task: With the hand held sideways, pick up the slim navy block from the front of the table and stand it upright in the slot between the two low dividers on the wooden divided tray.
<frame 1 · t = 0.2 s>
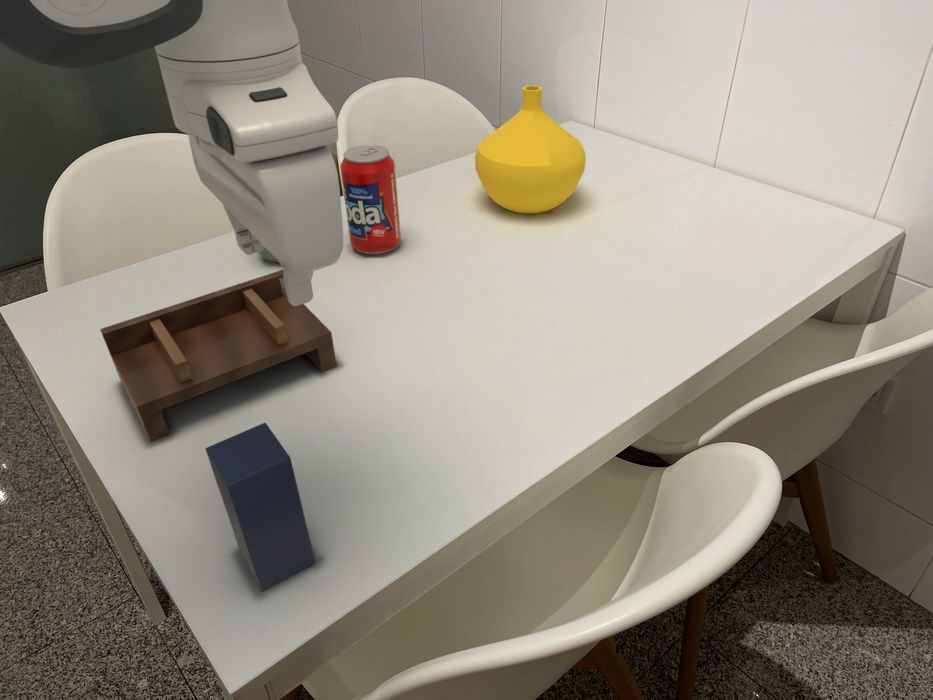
hand: (274, 273, 54), 24 cm above the table, tool pointing down, fingers open, 8 cm apart
vase: (528, 202, 121), on the table
cup: (283, 256, 107), on the table
soda can: (376, 247, 109), on the table
wooden divided tray: (231, 375, 83), on the table
navy block: (277, 557, 62), on the table
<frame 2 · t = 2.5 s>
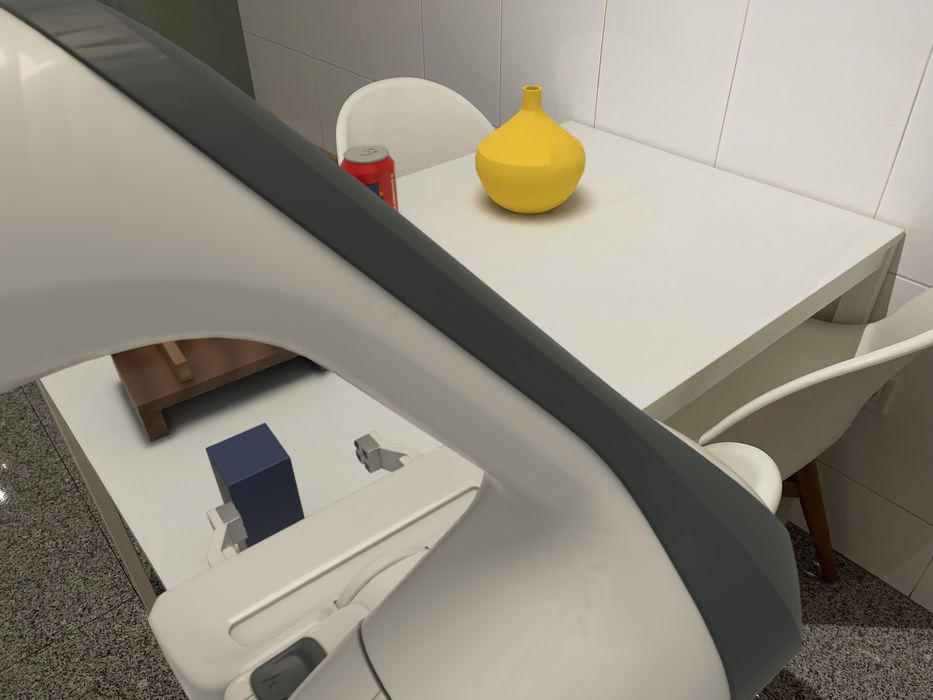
hand: (296, 476, 42), 20 cm above the table, tool horizontal, fingers open, 8 cm apart
nothing on the table moved.
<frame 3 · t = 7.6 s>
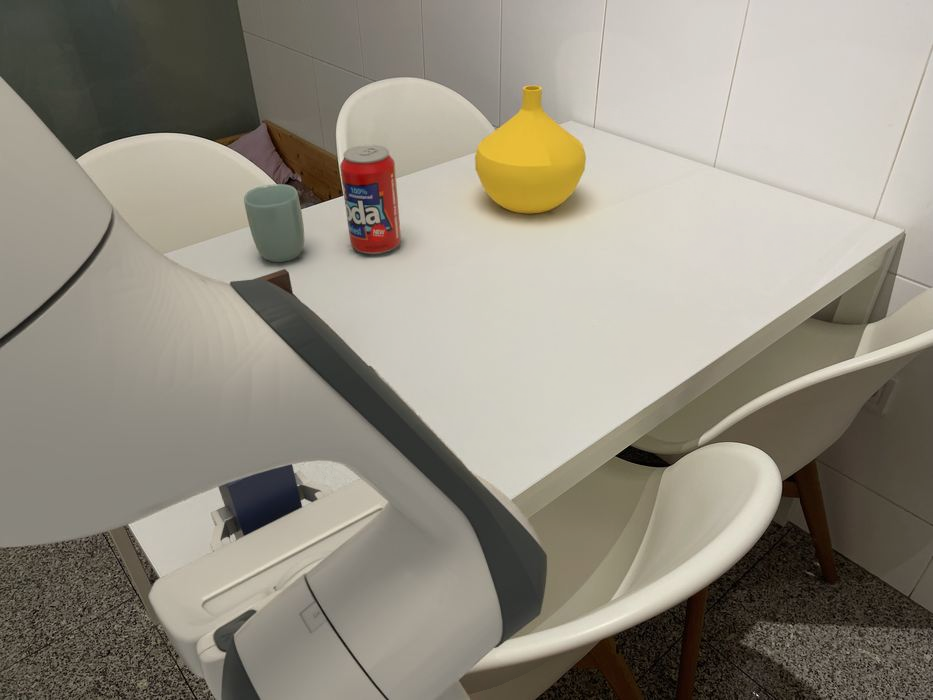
hand: (257, 496, 58), 7 cm above the table, tool horizontal, fingers closed on navy block, 5 cm apart
navy block: (277, 557, 62), on the table, touching gripper
everything else where it was.
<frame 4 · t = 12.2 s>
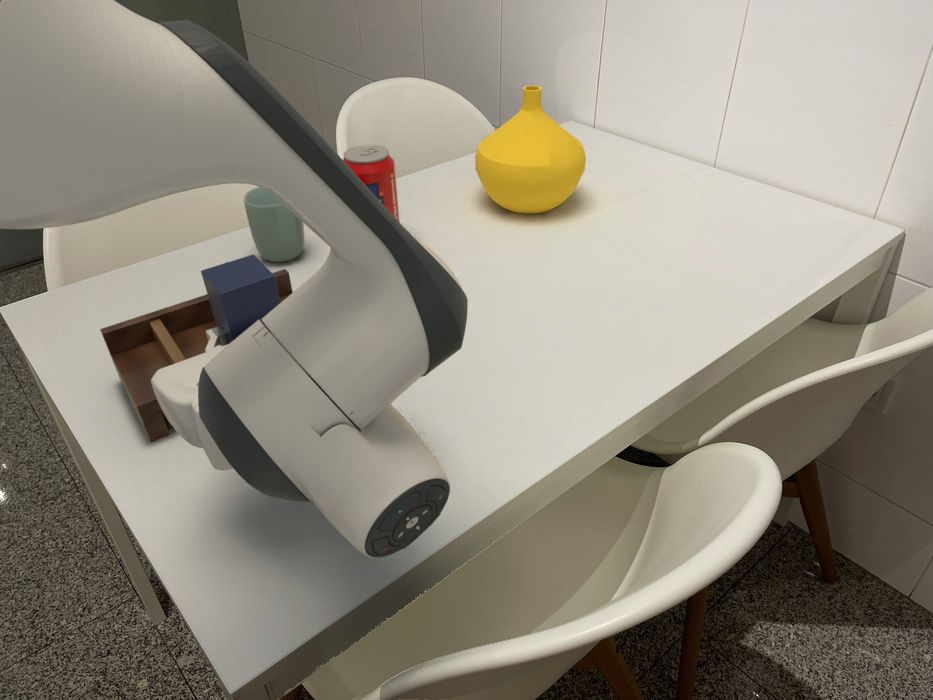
hand: (247, 322, 66), 15 cm above the table, tool horizontal, fingers closed on navy block, 5 cm apart
navy block: (266, 386, 69), point 7 cm above the table, touching gripper
everything else where it was.
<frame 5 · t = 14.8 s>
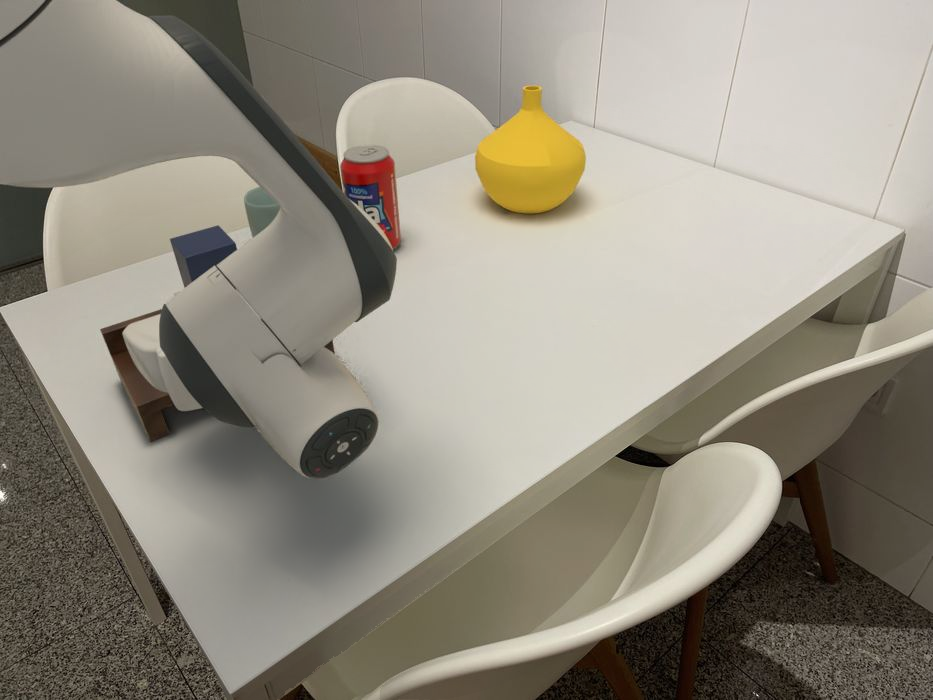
hand: (212, 287, 73), 14 cm above the table, tool horizontal, fingers closed on navy block, 5 cm apart
navy block: (231, 346, 77), point 6 cm above the table, touching gripper
everything else where it was.
when the fingers open (12 cm above the table, at t = 16.8 s): navy block stays where it is, resting on wooden divided tray.
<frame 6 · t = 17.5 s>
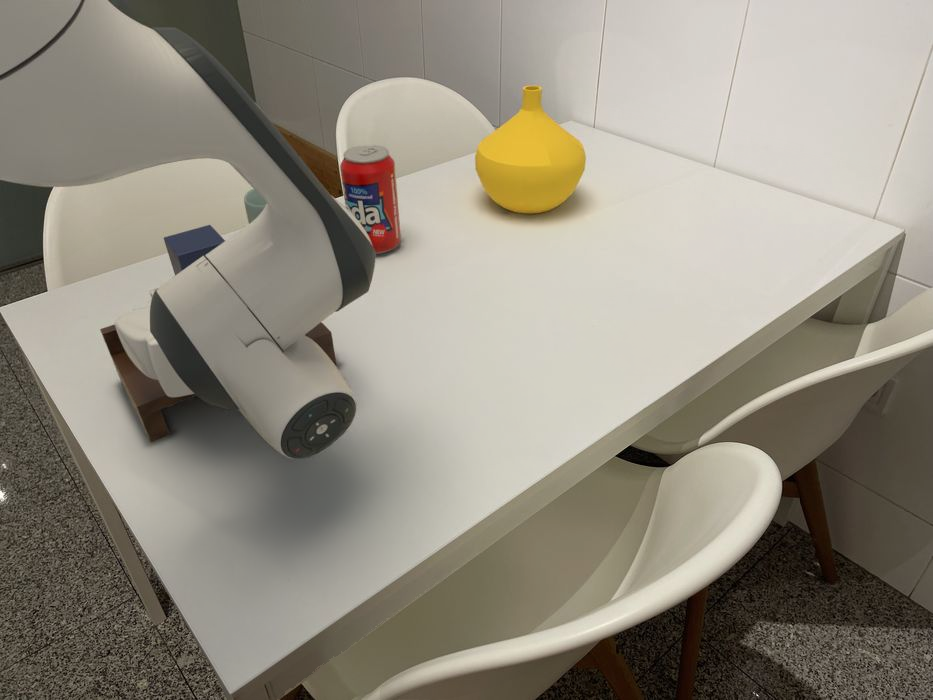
hand: (201, 280, 76), 13 cm above the table, tool horizontal, fingers open, 8 cm apart
navy block: (222, 341, 80), point 5 cm above the table, touching wooden divided tray
everything else where it was.
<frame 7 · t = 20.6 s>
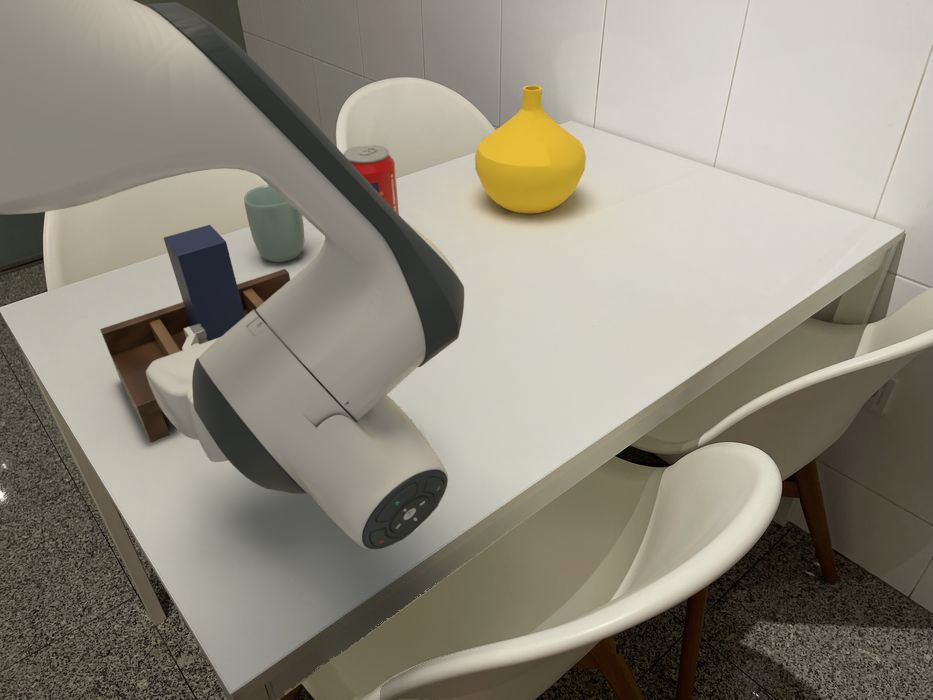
hand: (243, 314, 65), 15 cm above the table, tool horizontal, fingers open, 8 cm apart
nothing on the table moved.
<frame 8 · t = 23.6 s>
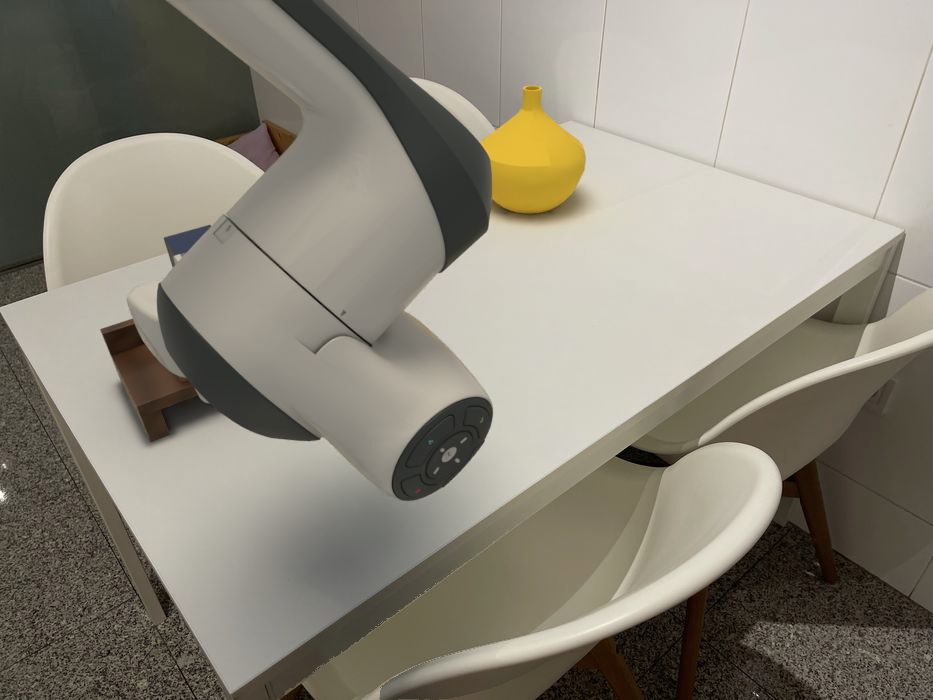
hand: (242, 244, 56), 25 cm above the table, tool horizontal, fingers open, 8 cm apart
nothing on the table moved.
at the end: navy block inside the target area on the wooden divided tray (0.4 cm from its centre), point 5.0 cm above the wooden divided tray's base; navy block tilted 0°; the gripper is holding nothing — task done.
